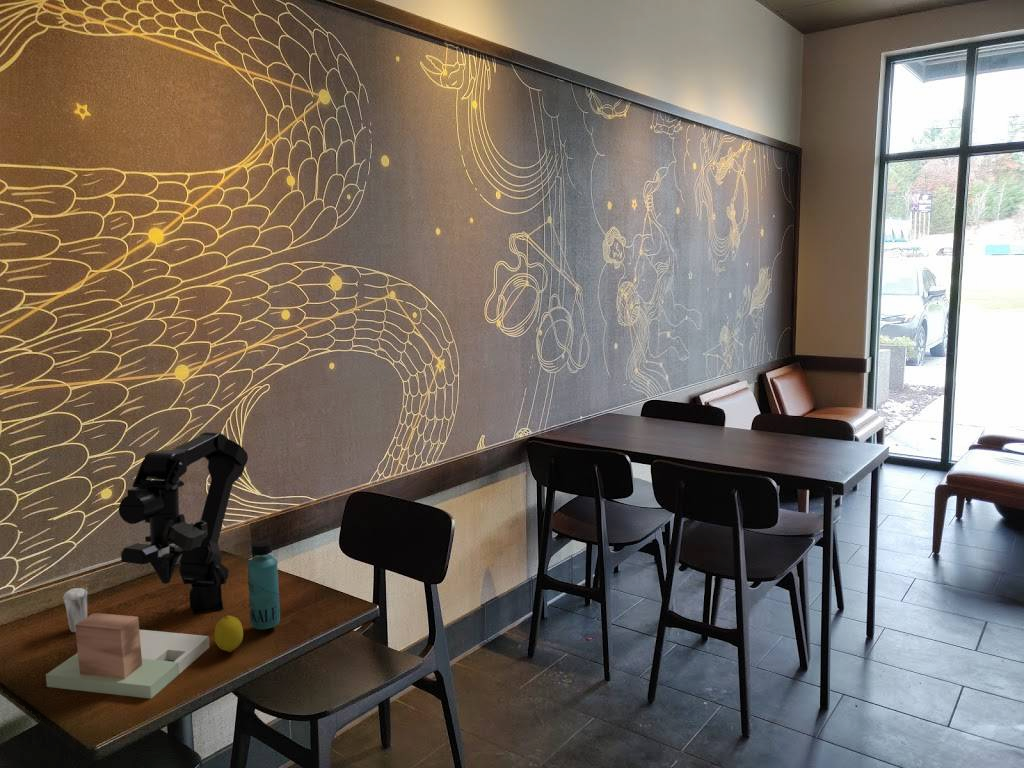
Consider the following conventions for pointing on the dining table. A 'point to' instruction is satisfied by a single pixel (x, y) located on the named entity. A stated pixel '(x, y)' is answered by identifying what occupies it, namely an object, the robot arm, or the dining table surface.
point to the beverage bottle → (263, 587)
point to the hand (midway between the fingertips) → (166, 583)
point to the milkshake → (76, 606)
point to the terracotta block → (108, 645)
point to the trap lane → (159, 667)
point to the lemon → (228, 633)
